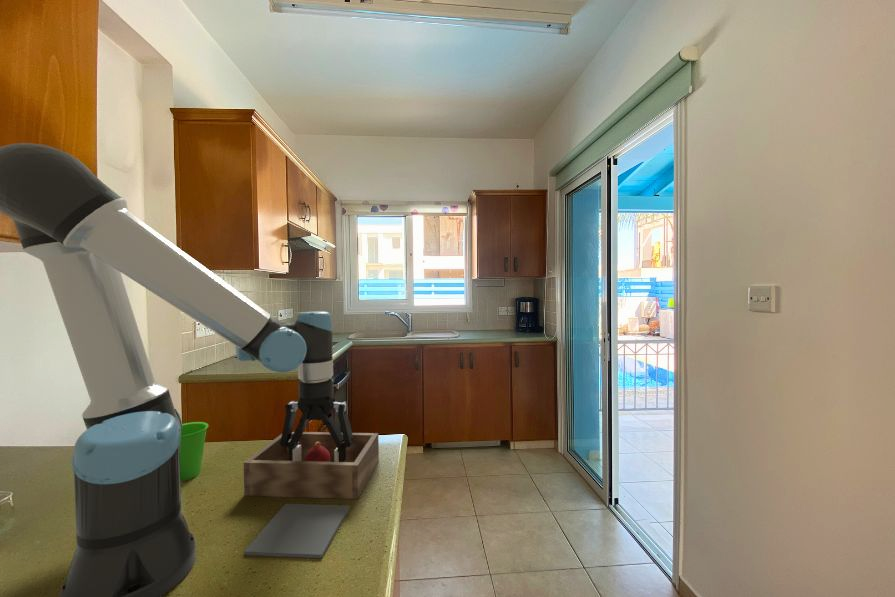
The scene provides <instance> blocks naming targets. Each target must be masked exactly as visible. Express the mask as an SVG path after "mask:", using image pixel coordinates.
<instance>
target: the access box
mask: <svg viewBox="0 0 895 597" xmlns="http://www.w3.org/2000/svg"><path fill="white" fill-rule="evenodd" d="M294 432H295V431H292V435H291V438H292V436H293V434H294ZM342 435H343V434H342ZM352 435H353V439H354V442H353V443H352V444H351V446H350V447H346V459H345V461H344V462H334V450H335V449H336V448H337V446H336V444H335V442H334V440H333V438H332V436H331V435H330V433H329V431H328V432H327V431H326V432H321V431H317V432H316V431H303V433H302V436H301V438H300V440H299V443H298V444H297V445H301V457H302V461H289V448H288V447H286V446H281V445H280V441H281V437H282V433H281V434H279V435H278V436H277V437H275V438H274V439H272V441H271V442H269V443H268V444H266V445H265V446H263V447H262V448H261V449H259V450H258V451H257V452H255V453H254V454H253V455H252V456H250V457H249V458H248V459H247V460H245V461H244V462H243V492H244V494H243V495H244V496H248V497H250V496H251V497H279V498H280V497H281V498H283V497H284V498H309V499H313V498H314V499H315V498H317V499H347V500H349V499H351V500H359V498H360V497H361V495H362V493H363V491H364V489H365V488H366V485H367V484H368V482H369V480H370V478H371V477H372V475H373V472H374V470H375V469H376V466H377V465H378V463H379V460H380V457H379V454H380V452H379V451H380V450H379V448H380V447H379V433H378V432H375V433H374V432H371V433H370V432H352ZM316 442H320V443H321V444H320V445H321V446H323V447H325V448H326V449H327V450H328V451H329V453H330V459H331V461H330V462H315V461H304V459H305V455H306V454H307V452H308V451H309V450H310V449H311V448H312V447H314V445H315V443H316Z"/></svg>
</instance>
